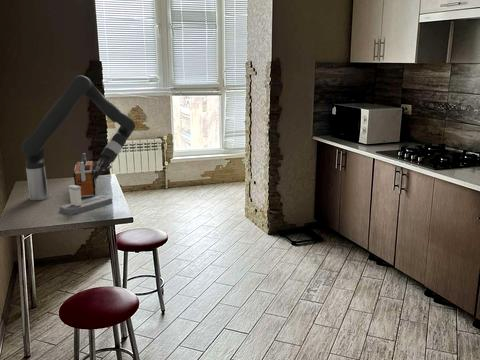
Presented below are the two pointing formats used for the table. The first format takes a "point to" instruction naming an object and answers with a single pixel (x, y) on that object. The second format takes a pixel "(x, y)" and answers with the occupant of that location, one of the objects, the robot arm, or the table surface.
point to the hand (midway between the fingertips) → (93, 178)
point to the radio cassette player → (85, 177)
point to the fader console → (86, 205)
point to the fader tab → (75, 195)
